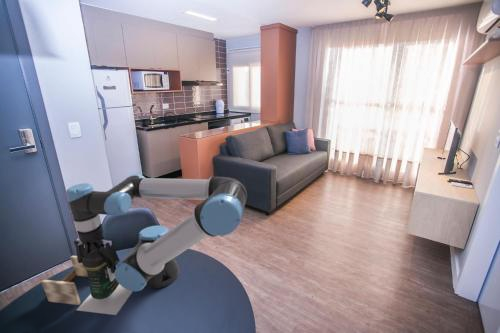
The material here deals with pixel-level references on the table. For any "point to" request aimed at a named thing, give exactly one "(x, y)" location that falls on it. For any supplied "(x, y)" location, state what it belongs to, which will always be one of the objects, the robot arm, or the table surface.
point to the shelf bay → (65, 285)
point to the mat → (106, 302)
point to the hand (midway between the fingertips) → (103, 277)
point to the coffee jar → (98, 275)
